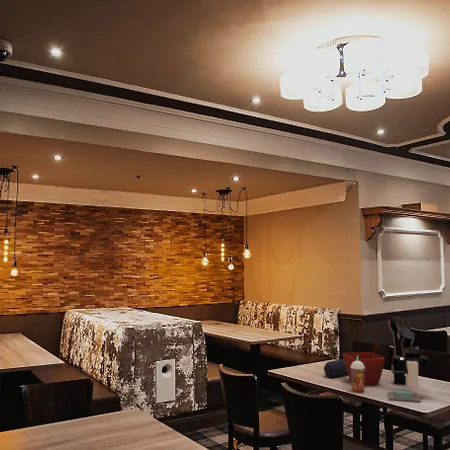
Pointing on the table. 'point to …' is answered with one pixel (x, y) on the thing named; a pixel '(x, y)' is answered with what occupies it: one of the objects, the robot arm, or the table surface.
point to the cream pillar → (412, 373)
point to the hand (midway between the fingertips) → (412, 374)
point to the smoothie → (357, 376)
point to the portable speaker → (335, 368)
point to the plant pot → (366, 366)
